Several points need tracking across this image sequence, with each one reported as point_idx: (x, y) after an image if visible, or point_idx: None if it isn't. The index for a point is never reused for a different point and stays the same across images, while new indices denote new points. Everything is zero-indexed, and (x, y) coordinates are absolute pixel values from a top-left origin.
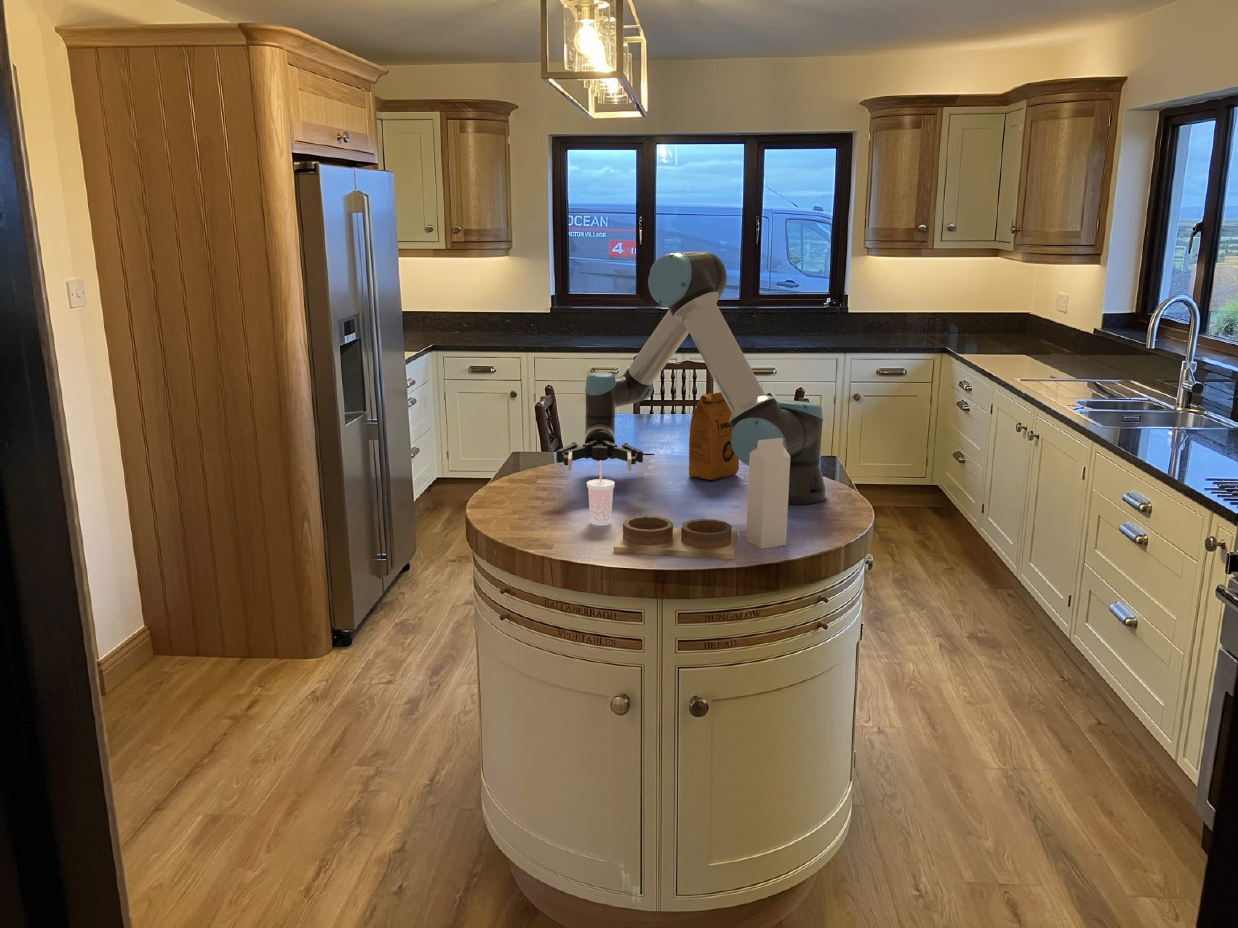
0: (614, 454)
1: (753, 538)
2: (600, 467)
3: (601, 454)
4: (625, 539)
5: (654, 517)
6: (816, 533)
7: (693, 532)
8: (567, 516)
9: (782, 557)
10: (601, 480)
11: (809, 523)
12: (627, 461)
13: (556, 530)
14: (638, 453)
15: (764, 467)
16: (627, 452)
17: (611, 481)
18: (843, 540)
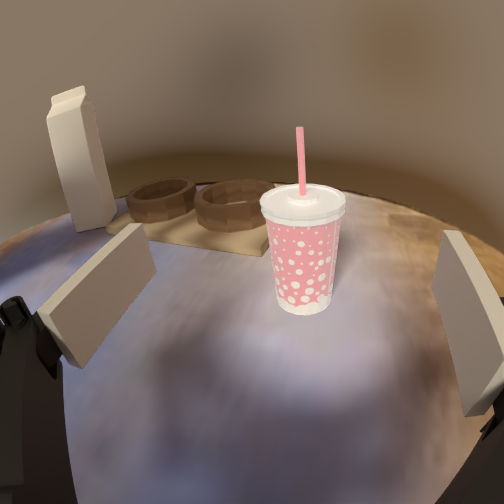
0: (62, 499)
1: (111, 210)
2: (301, 148)
3: None
4: None
5: (212, 204)
6: (32, 239)
7: (189, 179)
8: (394, 337)
9: (117, 201)
10: (300, 189)
11: (6, 260)
12: (94, 323)
13: (401, 264)
14: (3, 328)
15: (94, 113)
16: (52, 310)
17: (267, 203)
18: (35, 227)
